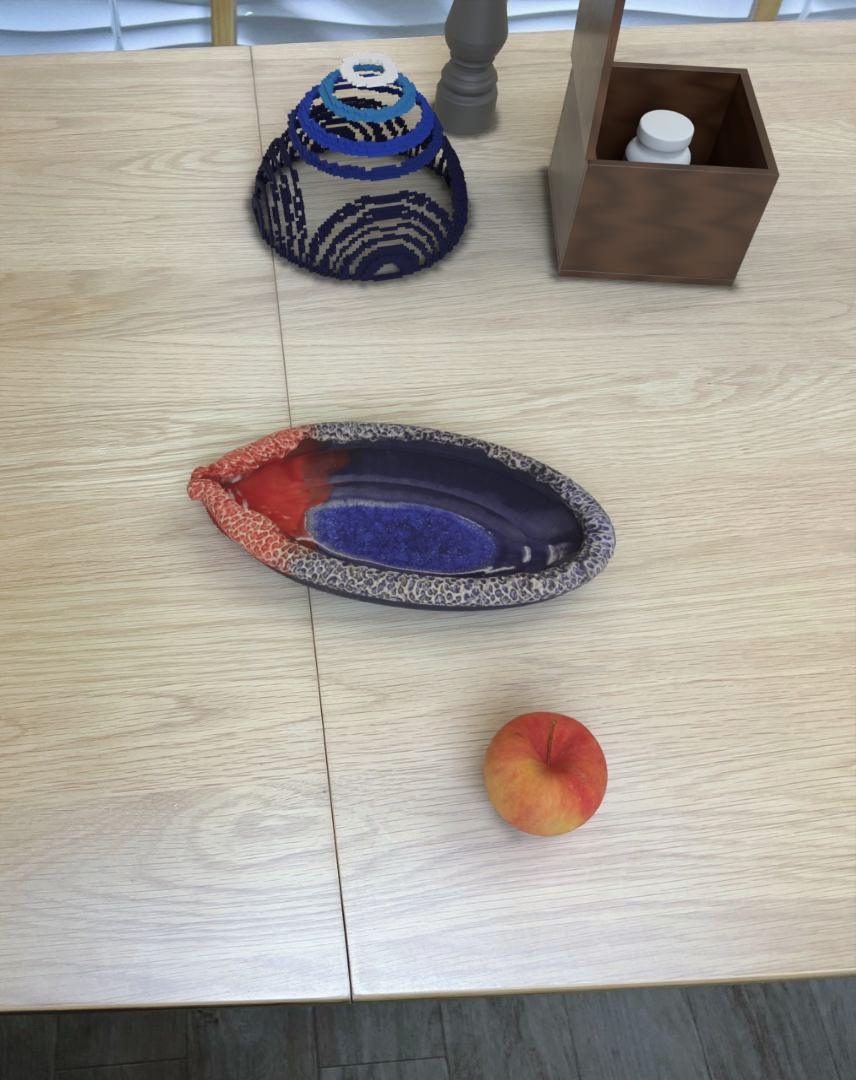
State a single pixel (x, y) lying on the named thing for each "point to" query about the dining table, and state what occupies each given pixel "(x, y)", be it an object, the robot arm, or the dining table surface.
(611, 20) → the lid
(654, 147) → the pill bottle
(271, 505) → the dish
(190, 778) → the dining table surface
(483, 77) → the candle holder
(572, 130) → the chest
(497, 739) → the apple
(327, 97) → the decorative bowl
